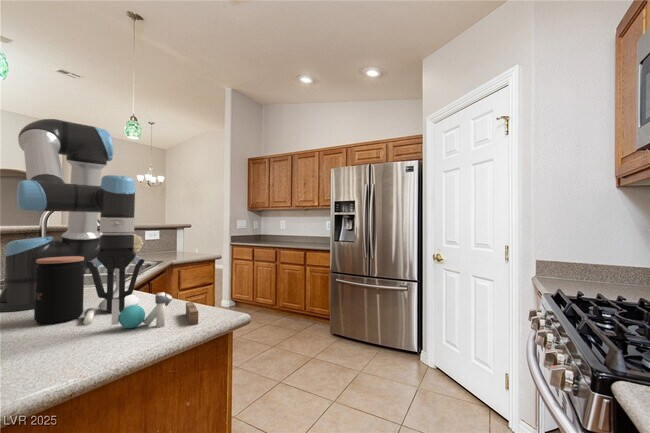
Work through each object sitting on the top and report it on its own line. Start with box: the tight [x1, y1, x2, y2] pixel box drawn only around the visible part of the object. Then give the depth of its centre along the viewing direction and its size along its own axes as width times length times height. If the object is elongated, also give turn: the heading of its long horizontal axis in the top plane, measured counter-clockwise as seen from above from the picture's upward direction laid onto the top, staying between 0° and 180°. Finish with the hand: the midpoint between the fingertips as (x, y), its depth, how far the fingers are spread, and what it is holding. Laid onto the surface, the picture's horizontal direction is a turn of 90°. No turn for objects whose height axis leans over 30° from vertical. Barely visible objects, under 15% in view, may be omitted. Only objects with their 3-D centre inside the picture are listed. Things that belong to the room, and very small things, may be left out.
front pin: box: [142, 293, 173, 326], centre depth 83 cm, size 3×3×9 cm
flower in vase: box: [97, 233, 144, 311], centre depth 98 cm, size 13×11×25 cm
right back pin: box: [154, 291, 167, 328], centre depth 81 cm, size 3×3×9 cm
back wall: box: [185, 301, 199, 326], centre depth 88 cm, size 12×2×4 cm, turn 31°
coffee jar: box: [33, 256, 85, 326], centre depth 87 cm, size 11×11×18 cm
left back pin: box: [83, 307, 97, 326], centre depth 86 cm, size 3×3×9 cm
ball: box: [119, 304, 146, 329], centre depth 80 cm, size 6×6×6 cm
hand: (115, 322), depth 78 cm, fingers closed
